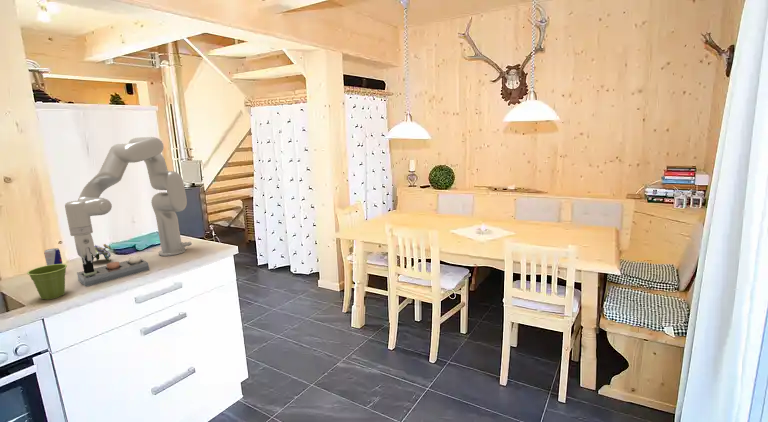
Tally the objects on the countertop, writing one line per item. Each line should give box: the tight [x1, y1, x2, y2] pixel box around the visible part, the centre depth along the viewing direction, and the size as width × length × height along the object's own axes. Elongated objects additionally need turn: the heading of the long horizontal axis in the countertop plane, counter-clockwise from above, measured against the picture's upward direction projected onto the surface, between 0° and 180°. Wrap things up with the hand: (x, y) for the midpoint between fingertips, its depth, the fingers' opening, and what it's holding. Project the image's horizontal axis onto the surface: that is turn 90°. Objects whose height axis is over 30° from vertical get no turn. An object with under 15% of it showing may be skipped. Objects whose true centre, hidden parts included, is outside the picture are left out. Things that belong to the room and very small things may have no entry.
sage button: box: [83, 270, 97, 276], centre depth 168 cm, size 5×5×2 cm
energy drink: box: [44, 247, 64, 266], centre depth 177 cm, size 5×5×12 cm
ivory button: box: [128, 256, 142, 264], centre depth 180 cm, size 5×5×2 cm
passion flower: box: [91, 243, 112, 262], centre depth 193 cm, size 11×11×12 cm
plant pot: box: [26, 263, 68, 301], centre depth 153 cm, size 12×12×11 cm
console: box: [76, 258, 150, 288], centre depth 175 cm, size 24×12×4 cm, turn 138°
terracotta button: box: [105, 261, 120, 269], centre depth 174 cm, size 5×5×2 cm
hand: (89, 272), depth 168 cm, fingers closed
